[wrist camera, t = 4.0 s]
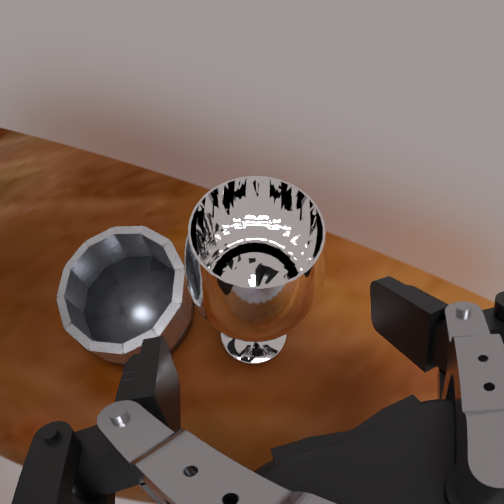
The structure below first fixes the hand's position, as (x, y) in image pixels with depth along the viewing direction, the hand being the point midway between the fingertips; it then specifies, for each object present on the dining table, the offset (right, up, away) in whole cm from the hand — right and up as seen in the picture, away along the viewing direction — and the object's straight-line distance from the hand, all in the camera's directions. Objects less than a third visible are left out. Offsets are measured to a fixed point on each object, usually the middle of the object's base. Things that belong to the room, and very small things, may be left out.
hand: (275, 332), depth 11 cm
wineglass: (-1, -3, +10) cm, 10 cm away
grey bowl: (-9, -1, +10) cm, 14 cm away
